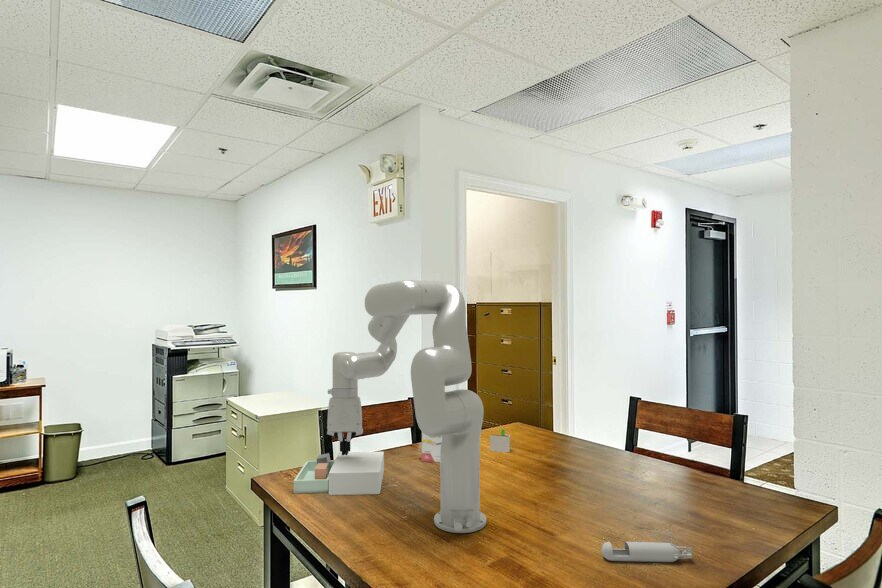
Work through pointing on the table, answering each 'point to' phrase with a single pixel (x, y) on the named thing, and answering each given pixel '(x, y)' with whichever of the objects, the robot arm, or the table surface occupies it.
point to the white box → (357, 473)
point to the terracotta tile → (321, 471)
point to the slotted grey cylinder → (646, 552)
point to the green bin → (310, 480)
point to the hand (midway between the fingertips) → (345, 453)
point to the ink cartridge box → (431, 448)
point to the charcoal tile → (325, 460)
